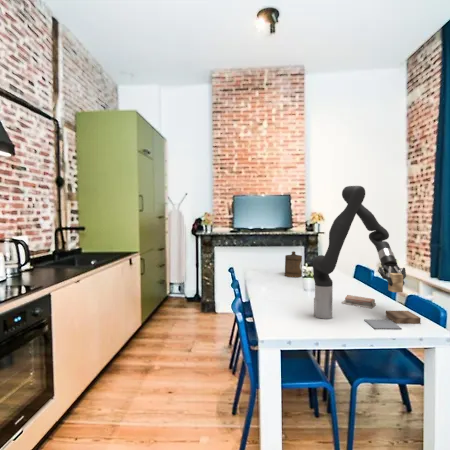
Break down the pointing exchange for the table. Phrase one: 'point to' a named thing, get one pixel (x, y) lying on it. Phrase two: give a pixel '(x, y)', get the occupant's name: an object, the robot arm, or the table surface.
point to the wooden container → (293, 265)
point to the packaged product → (359, 301)
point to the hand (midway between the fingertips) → (397, 285)
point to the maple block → (396, 282)
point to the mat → (382, 324)
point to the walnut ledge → (403, 317)
